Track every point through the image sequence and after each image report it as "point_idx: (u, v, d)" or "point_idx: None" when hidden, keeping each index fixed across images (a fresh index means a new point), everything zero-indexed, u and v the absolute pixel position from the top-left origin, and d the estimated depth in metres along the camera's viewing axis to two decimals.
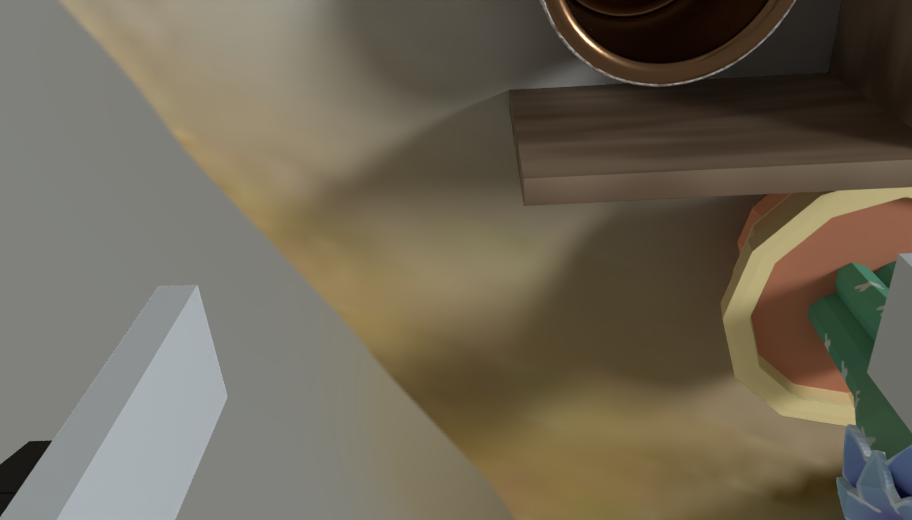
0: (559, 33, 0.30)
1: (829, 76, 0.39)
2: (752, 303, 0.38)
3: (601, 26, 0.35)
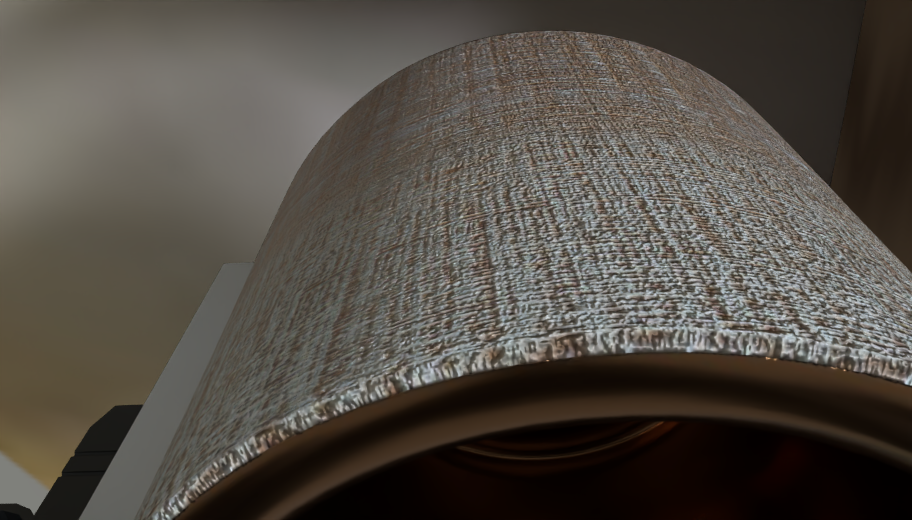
0: None
1: None
2: None
3: None
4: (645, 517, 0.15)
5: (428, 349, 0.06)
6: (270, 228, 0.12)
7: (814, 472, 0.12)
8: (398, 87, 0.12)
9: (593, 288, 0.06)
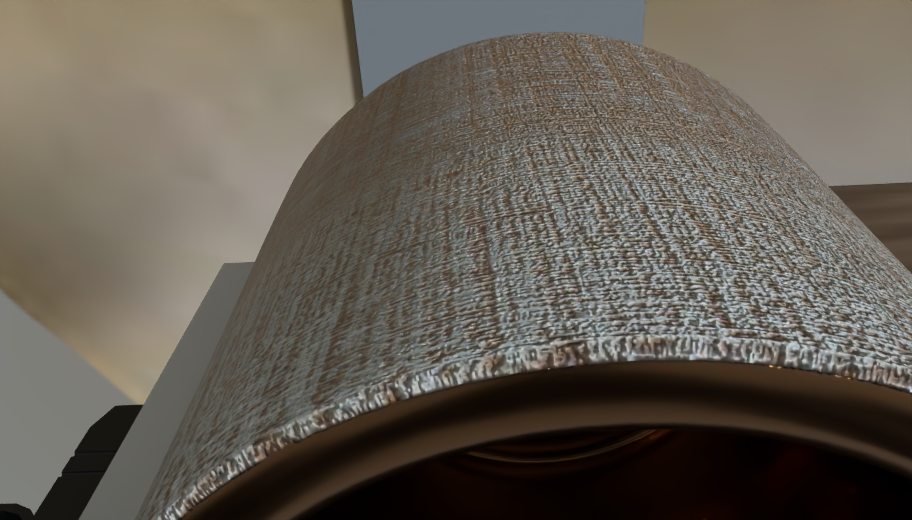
0: None
1: None
2: None
3: None
4: None
5: (428, 357, 0.05)
6: (269, 231, 0.12)
7: (816, 477, 0.12)
8: (398, 89, 0.12)
9: (593, 294, 0.06)
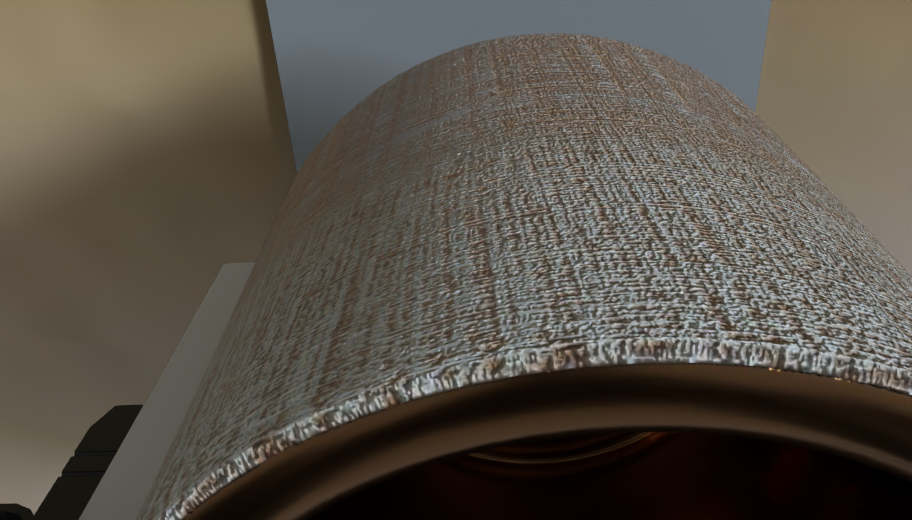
0: None
1: None
2: None
3: None
4: None
5: (427, 359, 0.05)
6: (269, 232, 0.12)
7: (816, 478, 0.12)
8: (398, 90, 0.12)
9: (595, 297, 0.06)
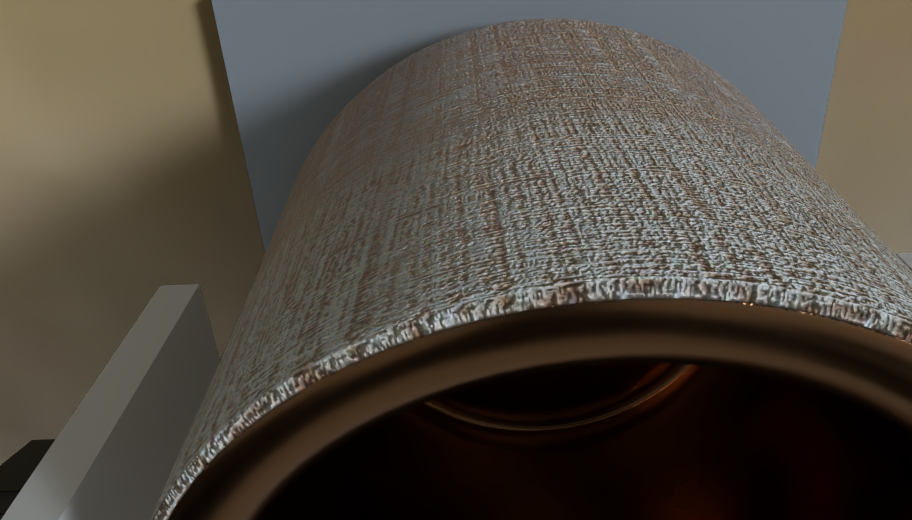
0: None
1: None
2: None
3: None
4: (639, 482, 0.16)
5: (447, 298, 0.06)
6: (286, 206, 0.13)
7: (797, 434, 0.13)
8: (406, 72, 0.13)
9: (592, 246, 0.06)
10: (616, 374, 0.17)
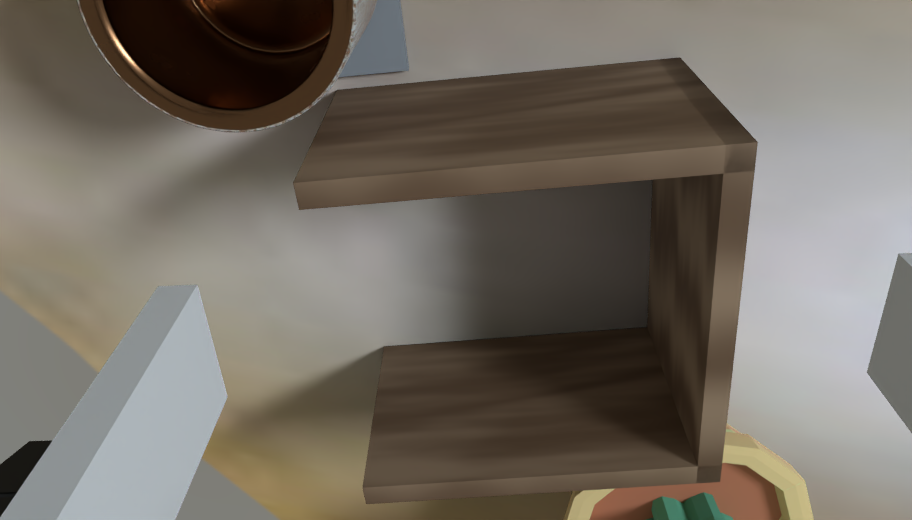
0: (127, 84, 0.30)
1: (646, 333, 0.47)
2: None
3: (233, 67, 0.35)
4: (315, 53, 0.36)
5: None
6: None
7: None
8: None
9: None
10: (310, 12, 0.37)
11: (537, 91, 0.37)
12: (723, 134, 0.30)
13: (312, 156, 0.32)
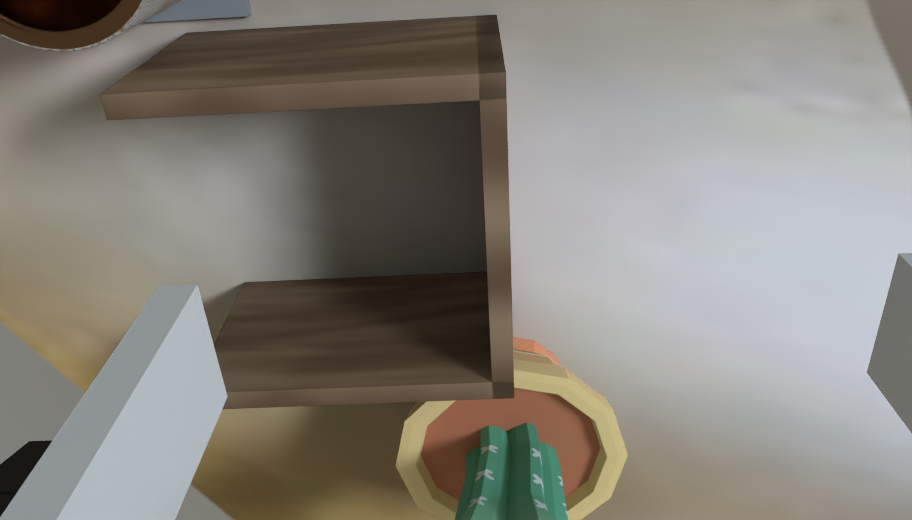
0: None
1: (484, 276, 0.51)
2: (414, 455, 0.50)
3: (75, 0, 0.39)
4: None
5: None
6: None
7: None
8: None
9: None
10: None
11: (356, 36, 0.41)
12: (482, 67, 0.34)
13: (129, 77, 0.36)
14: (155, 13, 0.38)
